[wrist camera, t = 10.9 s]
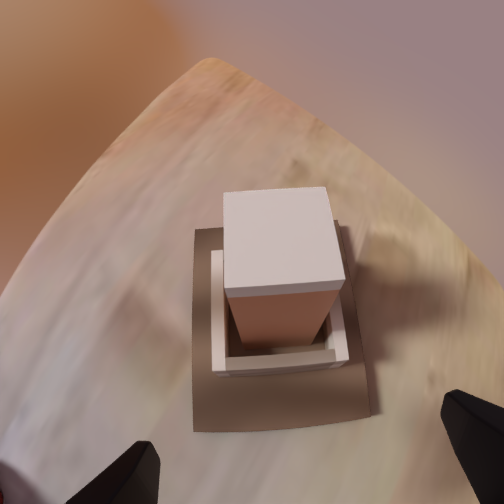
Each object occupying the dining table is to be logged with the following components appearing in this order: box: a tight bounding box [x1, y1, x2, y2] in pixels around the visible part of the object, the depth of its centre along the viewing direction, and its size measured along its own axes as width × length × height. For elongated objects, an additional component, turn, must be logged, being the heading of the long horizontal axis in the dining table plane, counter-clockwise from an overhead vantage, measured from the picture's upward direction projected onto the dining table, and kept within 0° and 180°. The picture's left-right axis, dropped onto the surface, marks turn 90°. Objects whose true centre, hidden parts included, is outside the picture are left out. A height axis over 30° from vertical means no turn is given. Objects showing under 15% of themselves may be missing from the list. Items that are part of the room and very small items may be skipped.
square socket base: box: [192, 220, 371, 432], centre depth 22 cm, size 16×12×4 cm
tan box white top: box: [224, 187, 345, 350], centre depth 18 cm, size 5×5×11 cm
